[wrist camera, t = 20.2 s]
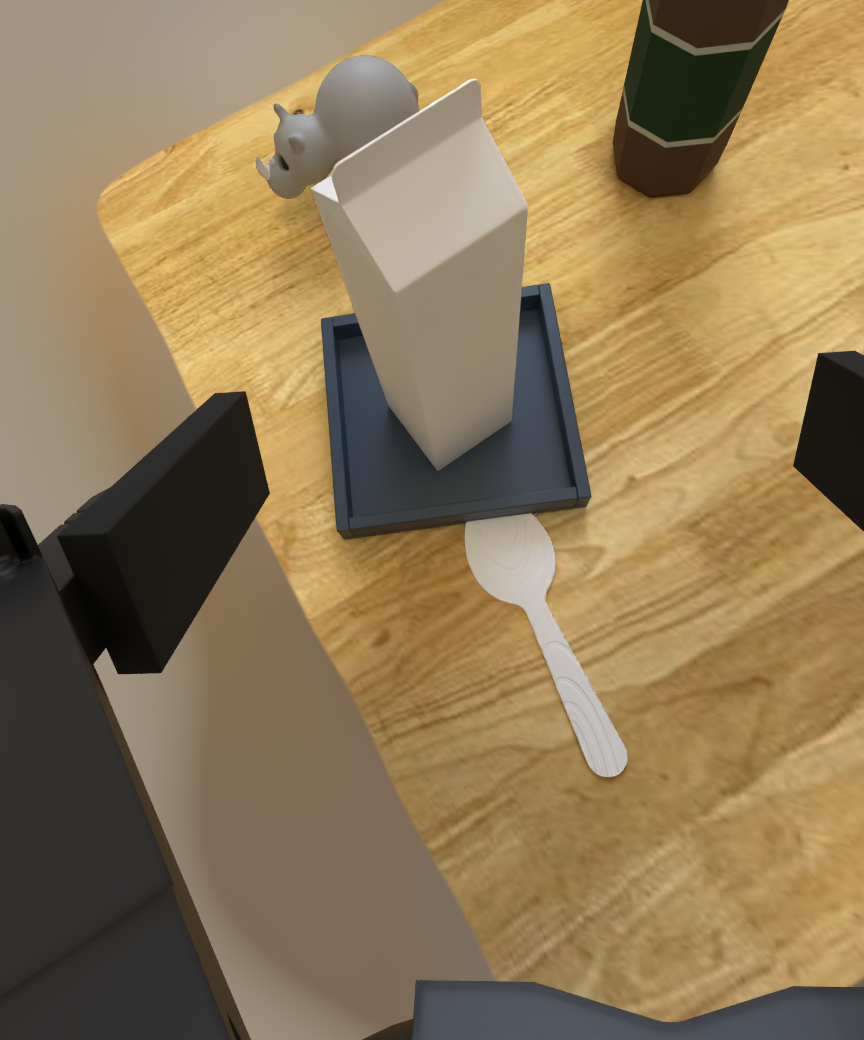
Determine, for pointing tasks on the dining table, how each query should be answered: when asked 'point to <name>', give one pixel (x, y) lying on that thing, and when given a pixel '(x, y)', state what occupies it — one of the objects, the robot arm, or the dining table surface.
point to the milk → (434, 269)
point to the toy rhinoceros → (337, 122)
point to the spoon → (543, 624)
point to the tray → (474, 475)
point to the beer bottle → (688, 87)
